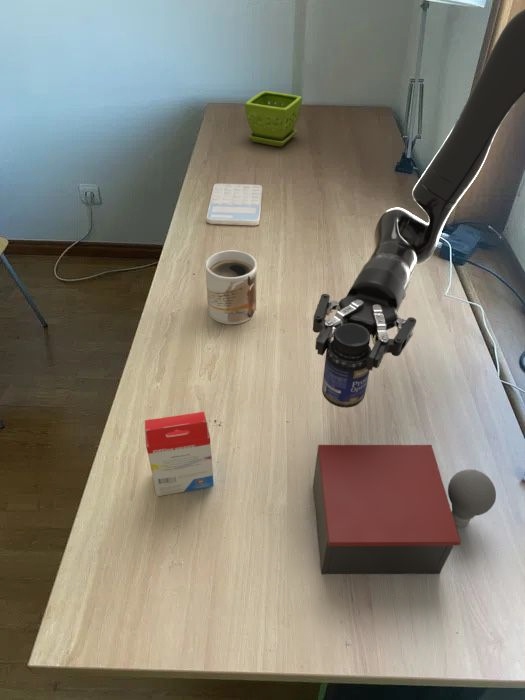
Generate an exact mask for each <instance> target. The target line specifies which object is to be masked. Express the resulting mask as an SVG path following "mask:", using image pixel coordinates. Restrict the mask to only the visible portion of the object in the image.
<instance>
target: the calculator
mask: <svg viewBox="0 0 525 700" xmlns="http://www.w3.org/2000/svg"><path fill="white" fill-rule="evenodd" d="M262 198H263V186H262V185H260V184H246V183H214V184H213V187H212V191H211V195H210V200H209V204H208V209H207V213H206V218H205V219H206V223H207V224H209V225H230V226H258V225H259V224H260V221H261V210H262V200H263V199H262Z"/></svg>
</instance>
